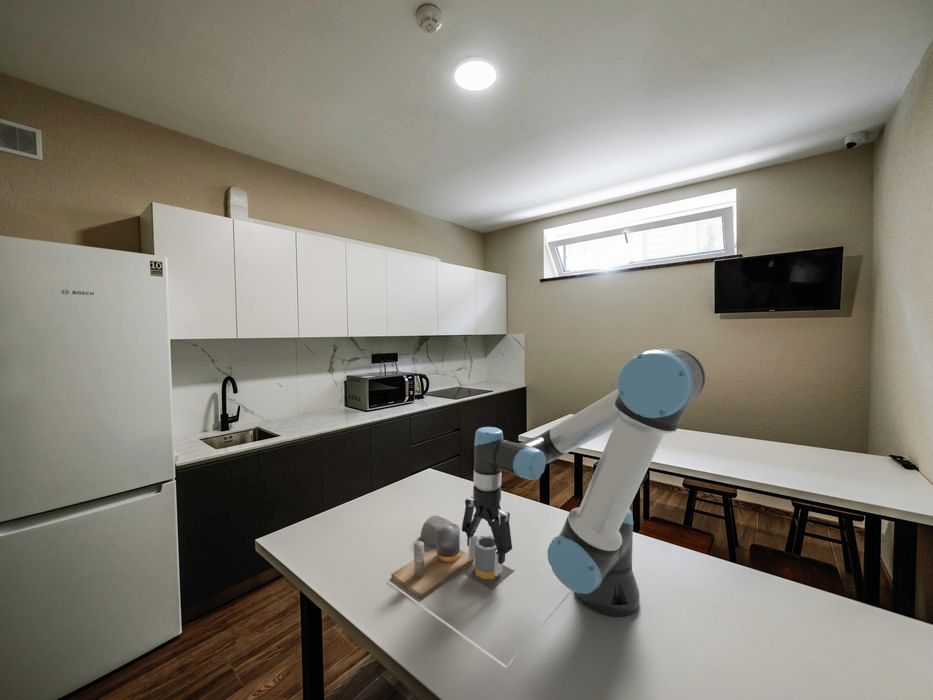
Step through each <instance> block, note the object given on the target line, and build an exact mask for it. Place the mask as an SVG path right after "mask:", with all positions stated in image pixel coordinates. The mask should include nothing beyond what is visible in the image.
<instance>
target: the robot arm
mask: <svg viewBox="0 0 933 700" xmlns="http://www.w3.org/2000/svg"><path fill="white" fill-rule="evenodd" d="M705 384H706V371H705V368H704V366H703V364H702V363H701V361H700V360H699V359H698V358H697V357H696V356H695V355H694V354H692V353H690V352H688V351H686V350H683V349H679V348H665V349H664V348H663V349H659V348H657V349H650V350H649V349H648V350H645V351H644V352H643V351H642V352H640V353H638V354H636V355H635V356H633V357H631V358H630V359H629V360H627V362H626V363H624V365H623V366H622V368H621V370H620V372H619V374H618V378H617V389H615V390H614V391H612V392H610V393H609V394H607V395H606V396H604V397H602V398H600V399H599V400H596V401H595V402H593V403H592V404H590V405H588V406H586V407H585V408H584V409H581V410H580V411H578V412H576V413H575V414H573V415H572V416H570V417H568V418H566V419H565V420H563V421H562V422H560V423H558V424H555V426H553V427H551V428H549V429H548V430H546V431H545V432H543V433H541V434H538V435H537V436H535V437H532V438H530V439H527V440H525V441H522V442H518V443H517V442H513V441H510V440H507V439H504V433H503V430H502V429H500V428H498V427H494V426H483V427H480V428H478V429H477V430H476V431H475V434H474V435H475V436H474V444H473V445H474V446H473V451H474V453H473V454H474V459H473V461H474V465H473V488H472V489H473V491H472V492H473V495H472V496H470V497H468V498H466V499H465V501H464V503H465V508H464V509H465V510H464V515H463V520H462V526H461V531H462V532H464V533H465V534H466V538H467V541H466V543H467V544H466V545H467V547H468V554H469V558H468V560H469V561H471V560H473V559H474V560H475V540H476V539H477V538H478V534H477V529H478V527H479V525H480V523H481V520H485V521H486V522H487V524H488V526H489V527H490V530H491V533H492V536H493V537H494V540H495V544H496V547H497V550H496V551H495V564H494V575H495V576H497V575H499V574H500V573H501V572H502V571H503V565H504V563H505V562H506V554H508V553H509V552H510V551H512V550H513V543H512V536H511V528H510V526H511V525H510V516H511V514H510V512H509V511H506V512H505V511H503V510H502V509H501V505H500V504H501V500H502V473H503V472H506V473H509V474H512V475H514V476H517V477H518V478H521V479H526V480H531V481H536V480H538V479H540V478H541V476H542V474H544V472H545V469H546V465H547V464H550V463H551V462H553V461H555V460H558V459H560V458H561V457H563V456H564V455H566V454H568V453H570V452H571V451H574V450H576V449H578V448H580V447H581V446H584V445H586V444H587V443H589V442H591V441H593V440H595V439H597V438H599V437H600V436H603V435H605V434H607V433H608V432H610V431H611V433H610V435H609V437H608V439H607V443H606V444H605V447H604V449H603V452H602V454H601V456H600V458H599V460H598V463H597V465H596V468H595V470H594V473H593V475H592V478H591V480H590V482H589V484H588V487H587V489H586V491H585V493H584V496H583V498H582V500H581V503H580V506H579V507H575V508H572V509H571V510H570V511H569V512H568V515H567V517H566V520H565V522H564V524H563V526H562V529H561V531H560V533H559V534H558V535H557V536H555V537H554V538H553V539H552V540H551V542H550V543H549V545H548V547H547V560H548V563H549V565H550V567H551V571H552V572H553V574H554V576H555V577H556V578H557V580H558V581H559V582H560V583H562V585H563V586H565V587H566V588H567V589H568V590H570V591H572V592H574V593H575V595H576V596H577V598H578V599H579V600H580V602H581V603H583V604H584V605H585V606H586V607H587V608H589V609H591V610H593V611H595V612H596V613H599V614H602V615H606V616H610V617H627V616H630V615H632V614H634V613H635V612H636V611H637V610H638V609H639V607H640V590H639V587H638V584H637V581H636V580H637V579H636V577H635V574H634V571H633V535H634V533H633V532H634V531H633V530H634V520H633V518H634V517H633V511H632V510H631V509H630V507H631V505H632V503H633V501H634V499H635V497H636V494H637V493H638V491H639V488H640V486H641V484H642V482H643V480H644V478H645V476H646V474H647V471H648V469H649V466H650V465H651V463H652V461H653V459H654V456H655V454H656V452H657V450H658V448H659V446H660V444H661V441H662V439H663V437H664V435H669V434H672V433H675V432H676V431H677V429H678V427H679V425H680V423H681V422H682V420H683V417H684V415H685V413H686V411H687V409H688V407H689V405H690V403H691V402H692V401H694V400H695V399H696V398H697V397H699V395H700V394H701V393H702V391H703V389H704V387H705ZM474 509H475V512H474Z"/></svg>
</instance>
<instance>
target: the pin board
mask: <svg viewBox="0 0 933 700" xmlns="http://www.w3.org/2000/svg"><path fill="white" fill-rule="evenodd" d="M460 529H461V528H460V526H459V525H458V524H456V523H453V522H451V523H444V524H441V525H439V526H438V527H437V547H432V549H430V550H429V551H427V552H425V542H424V541H423V540H416V541H415V542H414V544H413V546H414V547H413V560H412V561H410V562H408V563H407V564H405V565H403V566H402V567H400V568H398V569H396V570H395V571H394V572H392V573H391V579H393V581H395V582H397V583H398V584H399V585H401V586H402V587H403V588H405V589H406V590H408V591H409V592H411V593H412V594H414V595H415V596H416V597H417V598H419V599H420V600H423V599H424V598H426V597H427V596H428V595H430V594H431V593H433V592H434V591H436V589H438V588H439V587H442V585H444V584H445V583H446V582H448V581H449V580H451V579H452V578H454V577H455V576H457V575H458V574H460V573H461V572H462V571H463V570H465V569H466V568H468V567H469V566H470V565H472V563H475V558H474V559H473V560H471V561H469V560H468V558H469V553H467V552H465V551H463V550H461V535H460V534H461V530H460Z"/></svg>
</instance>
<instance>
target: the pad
mask: <svg viewBox="0 0 933 700" xmlns="http://www.w3.org/2000/svg"><path fill="white" fill-rule="evenodd" d="M514 572H515V570H514V569H512V568H510V567H508V566H506V565H504V564H503V571H502V572H501V573H500V574H499V575H498V576H497V577H496V578H494V579H482V578H481V577H479V576H477V575H476V572H475V564H473V565H472V566H470V567H469V568H468V569H466V570H465V571H464V572H463V574H464V575H465V576H467V577H469V578H471V579H472V580H474V581H476V582H477V583H478V584H479V583H480V584H481V585H483V586H484V587H487V588H488V589H490V590H492V591H493V590H494V589H495V588H497V587H498V586H499V585H500V584H501V583H502V582H503V581H505V579H507V578H508V577H510V575H512V574H513V573H514Z"/></svg>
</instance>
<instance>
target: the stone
mask: <svg viewBox="0 0 933 700" xmlns="http://www.w3.org/2000/svg"><path fill="white" fill-rule="evenodd" d="M444 523H452V521H451V520H448V519H447V518H444V517H442V516H439V515H431V516H430V517H428V518H427V519H426V521H425V522H424V523H423V524H422V528H421V531H420V537H421V539H422V542H424V544H426V545H427V546H429V547H432V548H435V547H437V527H438V526H439V525H441V524H444Z"/></svg>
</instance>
